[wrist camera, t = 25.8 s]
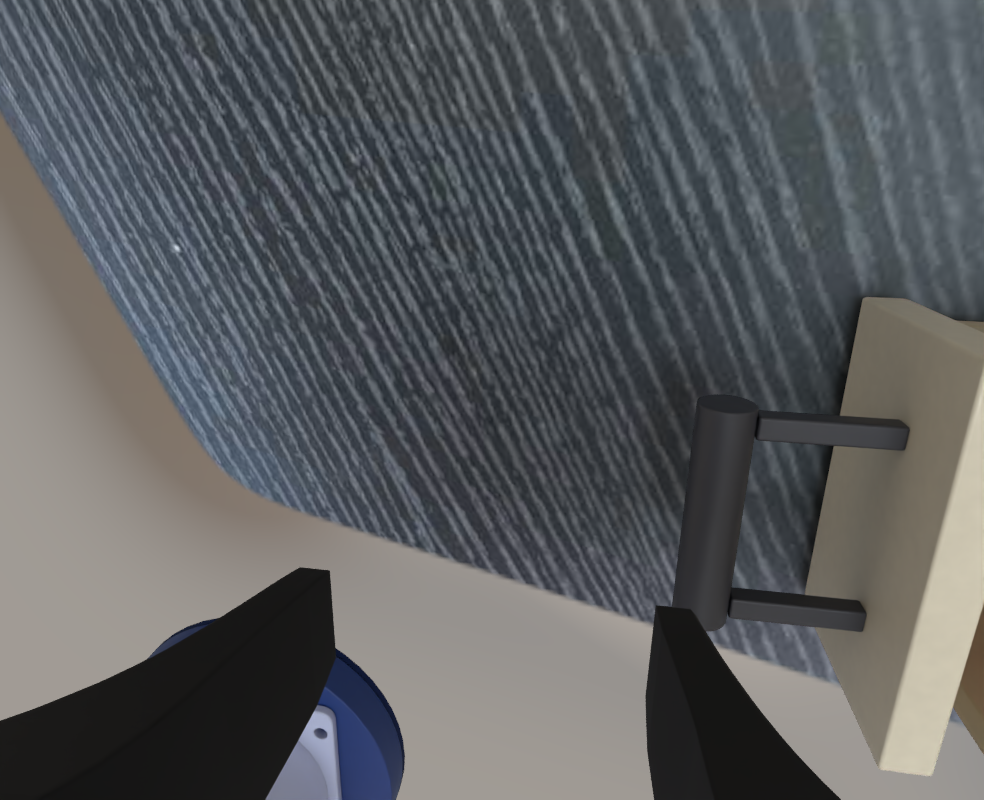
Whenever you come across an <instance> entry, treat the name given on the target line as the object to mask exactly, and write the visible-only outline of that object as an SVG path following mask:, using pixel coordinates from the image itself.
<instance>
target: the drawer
mask: <svg viewBox="0 0 984 800" xmlns="http://www.w3.org/2000/svg"><path fill="white" fill-rule="evenodd" d="M754 437H756V439H757V440H760V441H774V442H788V443H802V444H816V445H830V446H834V448H833V453H832V458H831V463H830V468H829V473H828V478H827V483H826V488H825V493H824V498H823V504H822V509H821V514H820V519H819V524H818V529H817V534H816V539H815V544H814V549H813V554H812V560H811V565H810V570H809V575H808V580H807V585H806V590H805V595H801V594H791V593H782V592H772V591H762V590H752V589H742V588H732V587H731V586H732V579H733V573H734V566H735V560H736V553H737V547H738V540H739V534H740V527H741V521H742V514H743V508H744V501H745V495H746V488H747V482H748V475H749V469H750V462H751V456H752V450H753V443H754ZM672 607H676V608H685V609H691V610H692V611H693V612H694V614H695V615H696V616H697V618H698V620H699V621H700V623H701V625H702V626H703V628H704V630H705V631H715V630H718V629H720V628H721V627H723V625H724V624H725V623H726V618H727V612H728V615H729V617H730V618H735V619H744V620H753V621H763V622H772V623H781V624H791V625H800V626H809V627H815V629H816V632H817V634H818V636H819V638H820V640H821V643H822V645H823V647H824V649H825V651H826V654H827V656H828V658H829V660H830V662H831V665H832V667H833V669H834V671H835V673H836V676H837V678H838V680H839V682H840V684H841V687H842V689H843V691H844V693H845V695H846V698H847V700H848V702H849V704H850V706H851V709H852V711H853V713H854V715H855V717H856V719H857V722H858V724H859V726H860V728H861V730H862V733H863V735H864V737H865V739H866V741H867V744H868V746H869V748H870V750H871V753H872V755H873V757H874V759H875V761H876V764H877V766H878V768H879V769H881V770H885V771H893V772H900V773H908V774H915V775H923V776H932V775H933V772H934V768H935V765H936V762H937V758H938V755H939V751H940V748H941V745H942V741H943V738H944V735H945V731H946V728H947V725H948V722H949V718H950V715H951V712H952V708H954V709H955V711H956V712H957V714H958V716H959V717H960V719H961V720H962V722H963V723H964V725H965V726H966V728H967V730H968V731H969V733H970V734H971V736H972V737H973V739H974V740H975V742H976V743H977V745H978V747H979V748H980V750H981V751H982V753H983V754H984V322H976V321H956V320H953V319H951V318H949V317H947V316H944V315H942V314H940V313H938V312H935V311H933V310H931V309H928V308H926V307H924V306H922V305H919V304H917V303H915V302H913V301H910V300H908V299H901V298H878V297H865V298H863V300H862V305H861V310H860V315H859V320H858V325H857V330H856V335H855V341H854V346H853V351H852V356H851V361H850V366H849V371H848V376H847V381H846V386H845V391H844V397H843V402H842V407H841V412H840V416H838V415H823V414H808V413H792V412H777V411H762V410H759V409H758V406H757V405H756V404H755V403H753V402H752V401H749V400H747V399H744V398H740V397H736V396H730V395H707V396H703V397H701V398H699V399H698V401H697V406H696V414H695V422H694V430H693V438H692V447H691V455H690V463H689V471H688V479H687V487H686V496H685V504H684V512H683V520H682V528H681V537H680V545H679V553H678V561H677V569H676V578H675V586H674V594H673V602H672Z"/></svg>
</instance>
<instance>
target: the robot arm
mask: <svg viewBox="0 0 984 800" xmlns="http://www.w3.org/2000/svg"><path fill="white" fill-rule="evenodd" d="M335 659H336V651H335V637H334V625H333V610H332V595H331V583H330V571H328V570H319V569H310V568H298V569H297V570H295V571H293V572H291V573H290V574H288V575H286V576H285V577H283V578H281V579H280V580H278V581H277V582H275V583H274V584H272V585H270V586H269V587H267V588H266V589H264V590H263V591H261V592H260V593H258V594H257V595H255V596H254V597H252V598H251V599H249V600H247V601H246V602H244V603H243V604H241V605H240V606H238V607H236V608H235V609H233V610H231V611H230V612H228V613H227V614H225V615H224V616H222V617H220V618H219V619H217V620H216V621H214V622H212V623H211V624H209V625H207V626H206V627H204V628H202V629H200V630H199V631H197V632H195V633H193V634H192V635H190V636H188V637H187V638H185V639H183V640H181V641H180V642H178V643H176V644H175V645H173V646H171V647H169V648H168V649H166V650H164V651H162V652H160V653H158V654H157V655H155V656H153V657H151V658H149V659H147V660H145V661H143V662H141V663H140V664H137V665H135V666H133V667H131V668H129V669H127V670H125V671H123V672H120V673H119V674H116V675H114V676H112V677H110V678H108V679H106V680H103V681H101V682H99V683H97V684H94V685H92V686H90V687H87V688H85V689H82V690H80V691H77V692H75V693H73V694H70V695H68V696H65V697H63V698H60V699H58V700H55V701H53V702H50V703H48V704H45V705H43V706H40V707H38V708H35V709H32V710H30V711H27V712H24V713H21V714H18V715H16V716H13V717H10V718H7V719H4V720H1V721H0V800H342V794H341V781H340V767H339V754H338V740H337V727H336V717H335V714H334V712H333V711H332V710H331V709H329V708H328V707H325V706H320V705H318V702H319V700H320V697H321V695H322V692H323V690H324V688H325V685H326V683H327V680H328V677H329V675H330V672H331V669H332V667H333V664H334V662H335ZM646 723H647V725H646V727H647V751H648V759H649V766H650V773H651V780H652V787H653V794H654V800H841V799H840V798H839V797H838V796H837V795H836V794H835V793H833V791H831V789H830V788H829V787H827V785H825V784H824V783H823V782H822V781H821V779H819V777H818V776H817V775H816V774H815V773H814V772H813V771H812V770H811V769H810V768H809V767H808V766H807V765H806V764H805V763H804V762H803V761H802V760H801V758H799V756H798V755H797V754H796V753H795V752H794V751H793V750H792V748H791V747H790V746H789V745H788V744H787V743H786V742H785V740H784V739H783V738H782V737H781V736H780V735H779V733H778V732H777V731H776V730H775V728H774V727H773V726H772V725H771V723H770V722H769V721H768V720H767V719H766V717H765V716H764V715H763V714H762V712H761V711H760V710H759V708H758V707H757V706H756V704H755V703H754V702H753V701H752V699H751V698H750V696H749V695H748V694H747V692H746V691H745V690H744V688H743V687H742V686H741V684H740V683H739V681H738V680H737V678H736V677H735V676H734V674H733V673H732V672H731V670H730V669H729V667H728V666H727V664H726V663H725V661H724V660H723V659H722V657H721V656H720V654H719V652H718V651H717V649H716V647H715V646H714V644H713V643H712V641H711V640H710V638H709V636H708V635H707V633H706V631H705V630H704V628H703V626H702V625H701V623H700V621H699V620H698V618H697V616H696V615H695V614H694V612H693V611H692V610H691V609H685V608H676V607H667V606H657V605H656V609H655V618H654V627H653V636H652V644H651V653H650V662H649V671H648V681H647V689H646ZM320 728H321V729H324V730H325V731H323V730H321V729H320Z"/></svg>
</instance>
